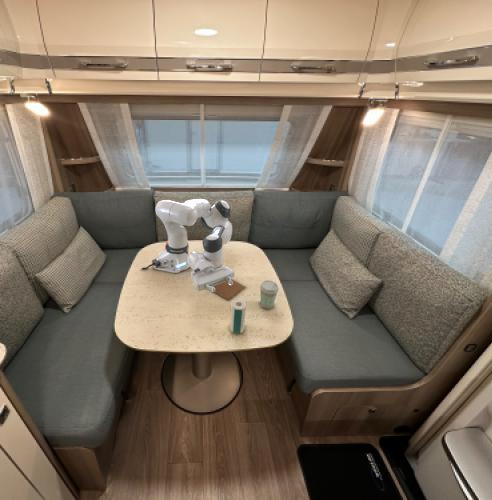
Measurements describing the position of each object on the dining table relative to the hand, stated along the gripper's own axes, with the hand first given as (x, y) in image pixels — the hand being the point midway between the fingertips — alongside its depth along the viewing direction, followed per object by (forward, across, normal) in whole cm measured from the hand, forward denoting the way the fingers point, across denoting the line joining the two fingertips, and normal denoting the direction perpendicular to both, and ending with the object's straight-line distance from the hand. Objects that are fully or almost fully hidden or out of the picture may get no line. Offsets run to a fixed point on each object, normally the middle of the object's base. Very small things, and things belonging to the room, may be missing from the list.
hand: (223, 287), depth 119 cm
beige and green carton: (+12, 0, -14) cm, 19 cm away
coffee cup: (+7, -21, -15) cm, 27 cm away
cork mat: (-16, -11, -14) cm, 24 cm away
